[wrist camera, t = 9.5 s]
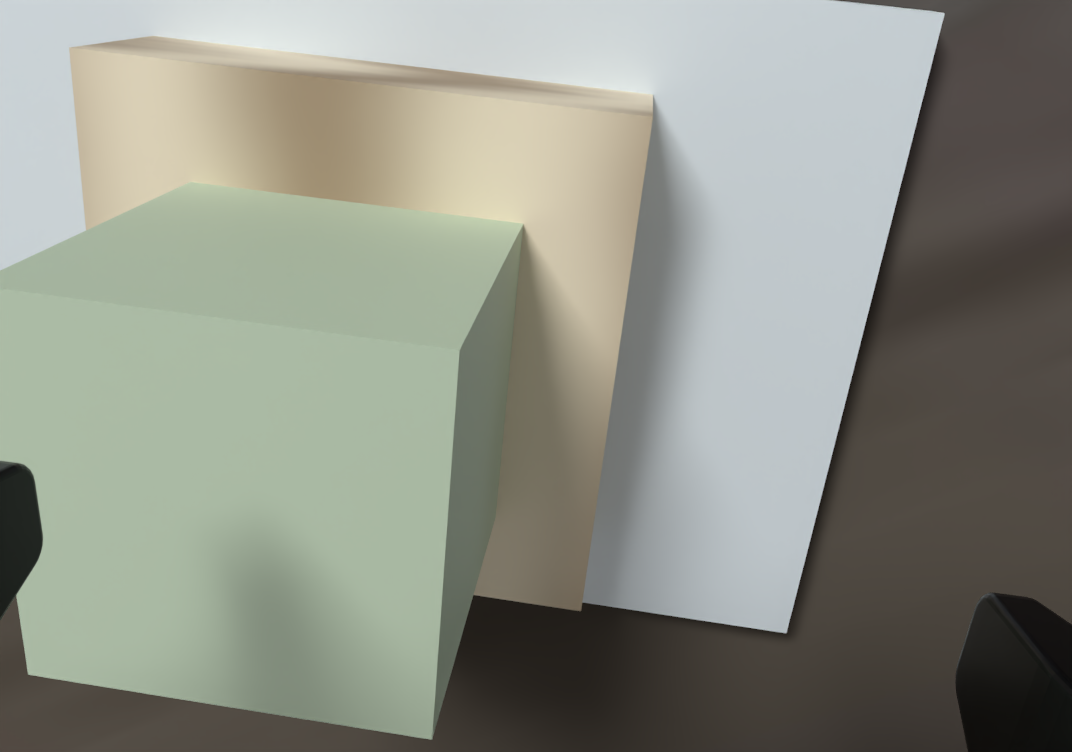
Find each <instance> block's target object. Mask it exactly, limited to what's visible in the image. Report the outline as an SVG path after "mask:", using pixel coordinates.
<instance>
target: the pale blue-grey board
mask: <svg viewBox="0 0 1072 752" xmlns="http://www.w3.org/2000/svg"><path fill="white" fill-rule="evenodd" d="M944 14H945V13H940V12H934V11H927V10H918V9H909V8H900V7H890V6H881V5H872V4H863V3H854V2H845V1H836V0H0V270H3V269H5V268H7V267H9V266H11V265H13V264H15V263H18V262H20V261H22V260H24V259H26V258H28V257H30V256H33V255H35V254H37V253H39V252H41V251H43V250H45V249H48V248H50V247H52V246H54V245H56V244H58V243H60V242H63V241H65V240H67V239H69V238H71V237H73V236H75V235H78V234H80V233H82V232H84V231H86V225H85V214H84V203H83V193H82V182H81V171H80V160H79V149H78V139H77V128H76V117H75V106H74V96H73V85H72V74H71V63H70V53H69V47H76V46H84V45H91V44H98V43H105V42H112V41H119V40H126V39H134V38H141V37H148V36H159V37H168V38H176V39H185V40H193V41H202V42H210V43H219V44H227V45H236V46H244V47H253V48H261V49H270V50H278V51H287V52H295V53H304V54H312V55H321V56H329V57H338V58H346V59H355V60H363V61H372V62H380V63H389V64H397V65H406V66H414V67H423V68H431V69H440V70H448V71H457V72H465V73H474V74H482V75H491V76H499V77H508V78H516V79H525V80H533V81H542V82H551V83H559V84H568V85H576V86H585V87H593V88H602V89H610V90H619V91H627V92H636V93H644V94H653V120H652V127H651V134H650V141H649V148H648V155H647V161H646V168H645V175H644V182H643V189H642V196H641V203H640V209H639V216H638V223H637V230H636V237H635V244H634V251H633V258H632V264H631V271H630V278H629V285H628V292H627V299H626V306H625V312H624V319H623V326H622V333H621V340H620V347H619V354H618V360H617V367H616V374H615V381H614V388H613V395H612V402H611V409H610V415H609V422H608V429H607V436H606V443H605V450H604V457H603V463H602V470H601V477H600V484H599V491H598V498H597V505H596V512H595V518H594V525H593V532H592V539H591V546H590V553H589V560H588V566H587V573H586V580H585V587H584V594H583V601H582V602H583V603H590V604H596V605H603V606H609V607H616V608H623V609H629V610H636V611H642V612H649V613H655V614H662V615H669V616H675V617H682V618H688V619H695V620H702V621H708V622H715V623H721V624H728V625H734V626H741V627H748V628H754V629H761V630H767V631H774V632H781V633H787V629H788V625H789V621H790V617H791V614H792V610H793V606H794V602H795V598H796V594H797V590H798V586H799V582H800V578H801V574H802V570H803V567H804V563H805V559H806V555H807V551H808V547H809V543H810V539H811V535H812V531H813V527H814V523H815V520H816V516H817V512H818V508H819V504H820V500H821V496H822V492H823V488H824V484H825V480H826V476H827V473H828V469H829V465H830V461H831V457H832V453H833V449H834V445H835V441H836V437H837V433H838V429H839V425H840V422H841V418H842V414H843V410H844V406H845V402H846V398H847V394H848V390H849V386H850V382H851V378H852V375H853V371H854V367H855V363H856V359H857V355H858V351H859V347H860V343H861V339H862V335H863V331H864V328H865V324H866V320H867V316H868V312H869V308H870V304H871V300H872V296H873V292H874V288H875V284H876V281H877V277H878V273H879V269H880V265H881V261H882V257H883V253H884V249H885V245H886V241H887V237H888V233H889V230H890V226H891V222H892V218H893V214H894V210H895V206H896V202H897V198H898V194H899V190H900V186H901V183H902V179H903V175H904V171H905V167H906V163H907V159H908V155H909V151H910V147H911V143H912V139H913V136H914V132H915V128H916V124H917V120H918V116H919V112H920V108H921V104H922V100H923V96H924V92H925V89H926V85H927V81H928V77H929V73H930V69H931V65H932V61H933V57H934V53H935V49H936V45H937V41H938V38H939V34H940V30H941V26H942V22H943V18H944Z"/></svg>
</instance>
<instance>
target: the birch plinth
mask: <svg viewBox="0 0 1072 752" xmlns="http://www.w3.org/2000/svg"><path fill="white" fill-rule="evenodd" d="M69 53H70V63H71V74H72V85H73V96H74V106H75V117H76V128H77V139H78V149H79V160H80V171H81V182H82V193H83V203H84V214H85V225H86V230H88V229H90V228H93V227H95V226H97V225H99V224H101V223H103V222H105V221H108V220H110V219H112V218H114V217H116V216H118V215H120V214H123V213H125V212H127V211H129V210H131V209H133V208H135V207H138V206H140V205H142V204H144V203H146V202H148V201H150V200H153V199H155V198H157V197H159V196H161V195H163V194H165V193H168V192H170V191H172V190H174V189H176V188H178V187H180V186H183V185H185V184H187V183H189V182H195V183H203V184H211V185H219V186H227V187H235V188H243V189H251V190H259V191H267V192H275V193H283V194H291V195H299V196H307V197H315V198H323V199H331V200H339V201H347V202H355V203H363V204H371V205H379V206H387V207H395V208H403V209H411V210H419V211H427V212H435V213H443V214H451V215H459V216H467V217H475V218H483V219H490V220H498V221H506V222H514V223H522V224H523V233H522V244H521V254H520V265H519V275H518V286H517V297H516V307H515V318H514V328H513V339H512V350H511V360H510V371H509V381H508V392H507V402H506V413H505V424H504V434H503V445H502V455H501V466H500V477H499V487H498V498H497V508H496V518H495V521H494V525H493V528H492V532H491V535H490V539H489V542H488V546H487V549H486V553H485V556H484V560H483V563H482V567H481V570H480V574H479V577H478V581H477V584H476V588H475V591H474V595H477V596H483V597H490V598H497V599H503V600H510V601H516V602H523V603H529V604H536V605H542V606H549V607H556V608H562V609H569V610H575V611H581V608H582V601H583V594H584V587H585V580H586V573H587V566H588V560H589V553H590V546H591V539H592V532H593V525H594V518H595V512H596V505H597V498H598V491H599V484H600V477H601V470H602V463H603V457H604V450H605V443H606V436H607V429H608V422H609V415H610V409H611V402H612V395H613V388H614V381H615V374H616V367H617V360H618V354H619V347H620V340H621V333H622V326H623V319H624V312H625V306H626V299H627V292H628V285H629V278H630V271H631V264H632V258H633V251H634V244H635V237H636V230H637V223H638V216H639V209H640V203H641V196H642V189H643V182H644V175H645V168H646V161H647V155H648V148H649V141H650V134H651V127H652V120H653V94H644V93H636V92H627V91H619V90H610V89H602V88H593V87H585V86H576V85H568V84H559V83H551V82H542V81H533V80H525V79H516V78H508V77H499V76H491V75H482V74H474V73H465V72H457V71H448V70H440V69H431V68H423V67H414V66H406V65H397V64H389V63H380V62H372V61H363V60H355V59H346V58H338V57H329V56H321V55H312V54H304V53H295V52H287V51H278V50H270V49H261V48H253V47H244V46H236V45H227V44H219V43H210V42H202V41H193V40H185V39H176V38H168V37H159V36H148V37H141V38H134V39H126V40H119V41H112V42H105V43H98V44H91V45H84V46H76V47H69Z"/></svg>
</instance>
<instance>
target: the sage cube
mask: <svg viewBox="0 0 1072 752" xmlns="http://www.w3.org/2000/svg"><path fill="white" fill-rule="evenodd" d="M522 233H523V224H522V223H514V222H506V221H498V220H490V219H483V218H475V217H467V216H459V215H451V214H443V213H435V212H427V211H419V210H411V209H403V208H395V207H387V206H379V205H371V204H363V203H355V202H347V201H339V200H331V199H323V198H315V197H307V196H299V195H291V194H283V193H275V192H267V191H259V190H251V189H243V188H235V187H227V186H219V185H211V184H203V183H195V182H189V183H187V184H185V185H183V186H180V187H178V188H176V189H174V190H172V191H170V192H168V193H165V194H163V195H161V196H159V197H157V198H155V199H153V200H150V201H148V202H146V203H144V204H142V205H140V206H138V207H135V208H133V209H131V210H129V211H127V212H125V213H123V214H120V215H118V216H116V217H114V218H112V219H110V220H108V221H105V222H103V223H101V224H99V225H97V226H95V227H93V228H90V229H88V230H86V231H84V232H82V233H80V234H78V235H75V236H73V237H71V238H69V239H67V240H65V241H63V242H60V243H58V244H56V245H54V246H52V247H50V248H48V249H45V250H43V251H41V252H39V253H37V254H35V255H33V256H30V257H28V258H26V259H24V260H22V261H20V262H18V263H15V264H13V265H11V266H9V267H7V268H5V269H3V270H0V461H7V462H15V463H21V464H24V465H25V466H27V467H28V468H29V469H30V470H31V472H32V474H33V475H34V479H35V484H36V491H37V498H38V505H39V511H40V518H41V525H42V532H43V546H42V550H41V554H40V556H39V559H38V561H37V563H36V565H35V567H34V568H33V570H32V571H31V573H30V574H29V576H28V578H27V579H26V581H25V582H24V584H23V585H22V587H21V589H20V590H19V592H18V593H17V602H18V609H19V616H20V622H21V629H22V636H23V643H24V649H25V656H26V663H27V670H28V675H34V676H40V677H46V678H52V679H59V680H65V681H71V682H77V683H83V684H90V685H96V686H102V687H108V688H114V689H121V690H127V691H133V692H139V693H145V694H152V695H158V696H164V697H170V698H176V699H183V700H189V701H195V702H201V703H207V704H214V705H220V706H226V707H232V708H238V709H245V710H251V711H257V712H263V713H269V714H276V715H282V716H288V717H294V718H301V719H307V720H313V721H319V722H325V723H332V724H338V725H344V726H350V727H356V728H363V729H369V730H375V731H381V732H387V733H394V734H400V735H406V736H412V737H418V738H425V739H431V740H432V738H433V735H434V731H435V728H436V724H437V721H438V717H439V714H440V710H441V707H442V703H443V700H444V696H445V693H446V689H447V686H448V682H449V679H450V675H451V672H452V668H453V665H454V661H455V658H456V654H457V651H458V647H459V644H460V640H461V637H462V633H463V630H464V626H465V623H466V619H467V616H468V612H469V609H470V605H471V602H472V598H473V595H474V591H475V588H476V584H477V581H478V577H479V574H480V570H481V567H482V563H483V560H484V556H485V553H486V549H487V546H488V542H489V539H490V535H491V532H492V528H493V525H494V521H495V518H496V508H497V498H498V487H499V477H500V466H501V455H502V445H503V434H504V424H505V413H506V402H507V392H508V381H509V371H510V360H511V350H512V339H513V328H514V318H515V307H516V297H517V286H518V275H519V265H520V254H521V244H522Z"/></svg>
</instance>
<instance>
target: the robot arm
mask: <svg viewBox="0 0 1072 752" xmlns="http://www.w3.org/2000/svg"><path fill="white" fill-rule="evenodd" d="M42 546H43V532H42V525H41V518H40V511H39V505H38V498H37V491H36V484H35V479H34V475H33V474H32V472H31V470H30V469H29V468H28V467H27V466H25V465H24V464H21V463H15V462H7V461H0V620H1V618H2V617H3V615H4V614H5V612H6V611H7V609H8V607H9V606H10V604H11V603H12V601H13V600H14V598H15V596H16V595H17V593H18V592H19V590H20V589H21V587H22V585H23V584H24V582H25V581H26V579H27V578H28V576H29V574H30V573H31V571H32V570H33V568H34V567H35V565H36V563H37V561H38V559H39V556H40V554H41V550H42ZM956 693H957V698H958V703H959V708H960V714H961V719H962V724H963V729H964V734H965V739H966V744H967V749H968V752H1072V624H1070V623H1069V622H1067V621H1066V620H1064V619H1063V618H1061V617H1060V616H1058V615H1057V614H1055V613H1054V612H1053V611H1051V610H1050V609H1048V608H1047V607H1045V606H1044V605H1042V604H1041V603H1039V602H1038V601H1036V600H1034V599H1032V598H1028V597H1022V596H1015V595H1007V594H999V593H988V594H986V595H984V596H982V597H981V599H980V600H979V602H978V603H977V605H976V608H975V611H974V614H973V617H972V620H971V623H970V626H969V630H968V633H967V636H966V639H965V642H964V645H963V649H962V652H961V655H960V658H959V661H958V665H957V670H956Z"/></svg>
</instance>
